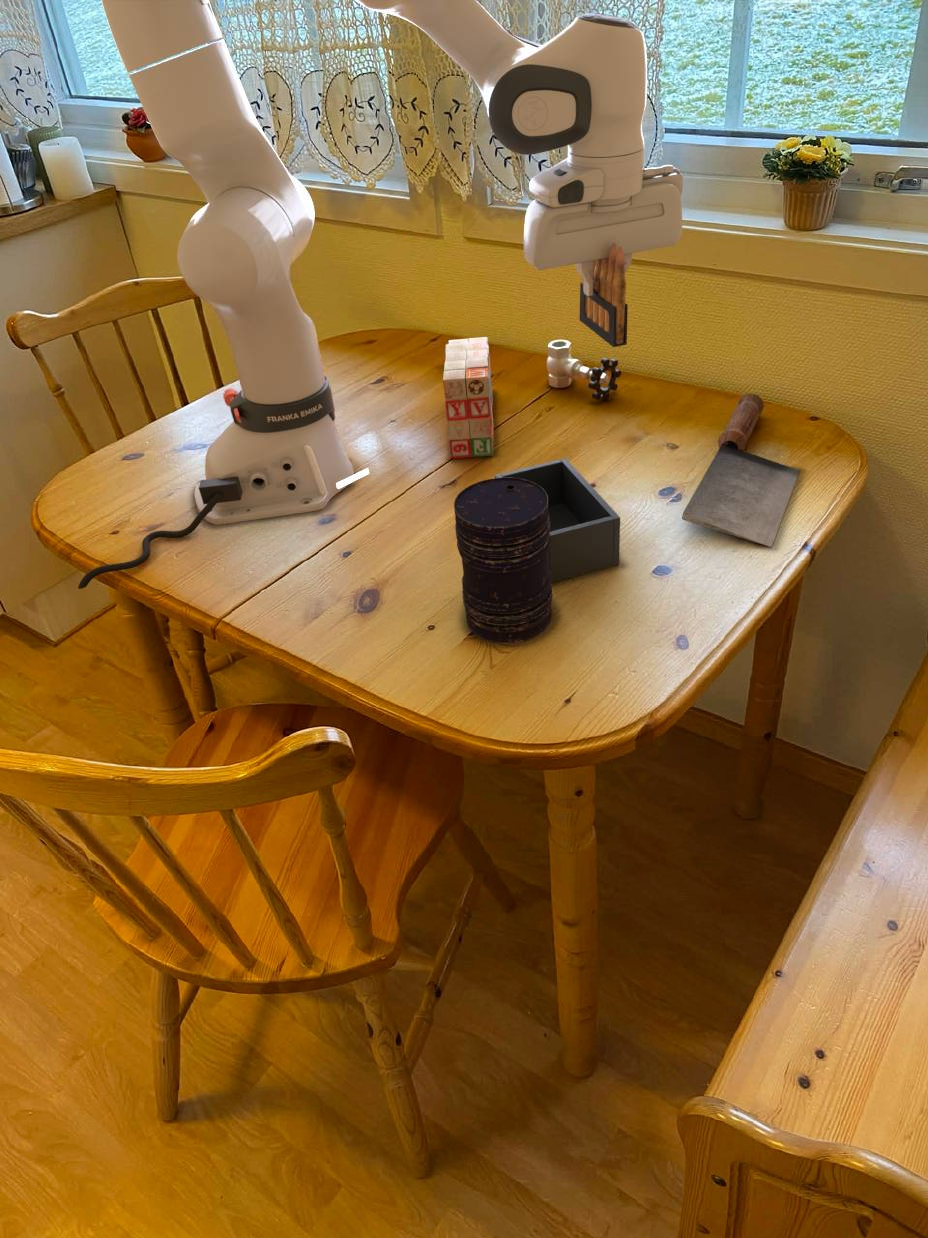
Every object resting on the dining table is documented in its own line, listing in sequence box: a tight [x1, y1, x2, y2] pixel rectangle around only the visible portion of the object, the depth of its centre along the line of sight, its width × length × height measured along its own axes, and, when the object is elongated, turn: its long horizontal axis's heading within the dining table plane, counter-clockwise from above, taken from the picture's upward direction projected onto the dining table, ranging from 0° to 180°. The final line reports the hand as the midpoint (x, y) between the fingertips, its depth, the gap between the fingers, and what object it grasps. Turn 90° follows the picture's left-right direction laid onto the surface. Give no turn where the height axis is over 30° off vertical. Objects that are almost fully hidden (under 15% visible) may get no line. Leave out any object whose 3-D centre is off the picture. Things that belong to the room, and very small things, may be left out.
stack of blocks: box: [442, 336, 494, 459], centre depth 137 cm, size 21×6×12 cm, turn 179°
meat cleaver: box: [681, 393, 801, 548], centre depth 122 cm, size 34×11×4 cm, turn 155°
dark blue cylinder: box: [453, 477, 553, 645], centre depth 99 cm, size 10×10×15 cm
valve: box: [546, 339, 622, 401], centre depth 145 cm, size 7×7×12 cm
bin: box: [494, 457, 621, 584], centre depth 112 cm, size 10×16×7 cm, turn 18°
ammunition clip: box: [578, 243, 629, 348], centre depth 118 cm, size 11×2×12 cm, turn 19°
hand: (602, 291), depth 118 cm, fingers closed on ammunition clip, 2 cm apart
